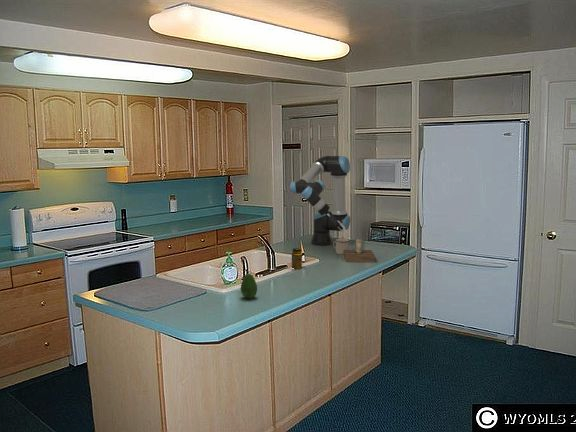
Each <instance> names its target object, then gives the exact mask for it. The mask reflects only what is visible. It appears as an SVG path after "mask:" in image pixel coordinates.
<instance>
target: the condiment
mask: <svg viewBox="0 0 576 432" xmlns="http://www.w3.org/2000/svg"><path fill="white" fill-rule="evenodd" d="M302 265H303V253H302V249H301V248H300V247H293V248H292V253H291V267H292V268H294V269H295V270H291V271H299V270H305V268H303V267H302Z"/></svg>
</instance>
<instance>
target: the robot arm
mask: <svg viewBox="0 0 576 432" xmlns="http://www.w3.org/2000/svg"><path fill="white" fill-rule="evenodd" d="M350 171H351V163H350V160H349V158H348V157H347V156H345V155H344V156H343V155H324V156H322V157H319V158H317V159H316V160H315V161H313V162H312V164H311V167H309V168H308V170H307V171H306V172H304V174H303V175H302V176H301V177H300V178H299V179H298V180H297V181H291V182H290V185H289V191H290V192H291V193H292V194H301V196H302V197H303V198H304V200H305V201H307V203H309V204H310V205H311V207H313V209H314V210H316V211H317V213H314V215H313V216H314V217H313V234H312V237H311V239H310V240H311V241H310V243H311V244H312V245H314V246H329V245H330V246H331V245H333V241H332V237H331V234H330V231H334V232H336V231H337V232H341V233H342V234H344V235H345V234H346V233H348V231H349V227H350V224H351V216H350V215H348V212H347V210H346V177H347V176H348V174H349V173H350ZM323 173H330V176H331V177H332V204H333V205H332V206H333V207H332V211H330V209H331V208H330V206H329V205H328V203H326V201H325V200H324V199H322V197H321V196H320V195H321V193H322V192H323V191H324V189H325V183H324V182H323V180H320V179H318V180H317V179H316V178H317V177H319V175H322V174H323ZM314 180H315V181H314Z"/></svg>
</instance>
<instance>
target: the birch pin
mask: <svg viewBox="0 0 576 432" xmlns="http://www.w3.org/2000/svg"><path fill="white" fill-rule="evenodd" d="M362 243H363V239H360V238H356V240H355V250H356V253H362V250H363V248H362V247H363V244H362Z"/></svg>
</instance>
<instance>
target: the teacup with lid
mask: <svg viewBox="0 0 576 432" xmlns="http://www.w3.org/2000/svg"><path fill="white" fill-rule="evenodd" d="M349 246H350V239H348V238H346V237H345V236H344V235H341V236H340V237H339V238H336V239H335V241H332V247H333V248H334V249H335V254H336V255H344V250H350V249H349V248H350V247H349Z"/></svg>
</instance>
